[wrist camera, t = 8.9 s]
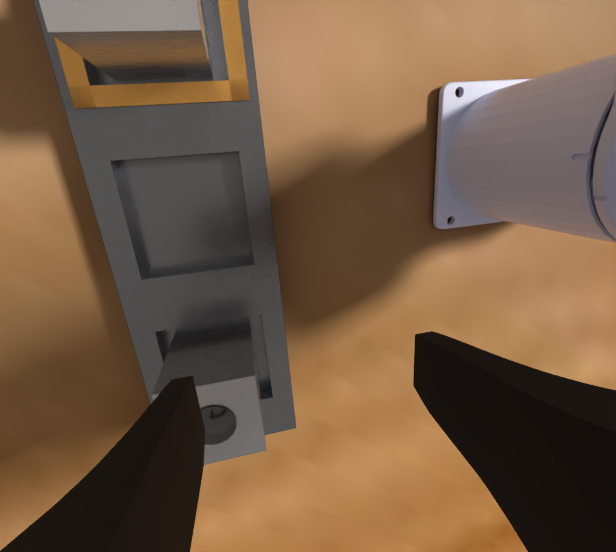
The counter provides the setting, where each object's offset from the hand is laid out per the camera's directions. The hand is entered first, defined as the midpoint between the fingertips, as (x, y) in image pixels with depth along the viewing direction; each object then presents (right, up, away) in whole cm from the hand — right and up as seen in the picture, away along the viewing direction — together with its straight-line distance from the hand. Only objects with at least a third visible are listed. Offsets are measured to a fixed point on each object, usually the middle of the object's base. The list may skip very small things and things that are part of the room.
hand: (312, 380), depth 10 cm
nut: (-5, -2, +9) cm, 11 cm away
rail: (-6, +7, +7) cm, 12 cm away
